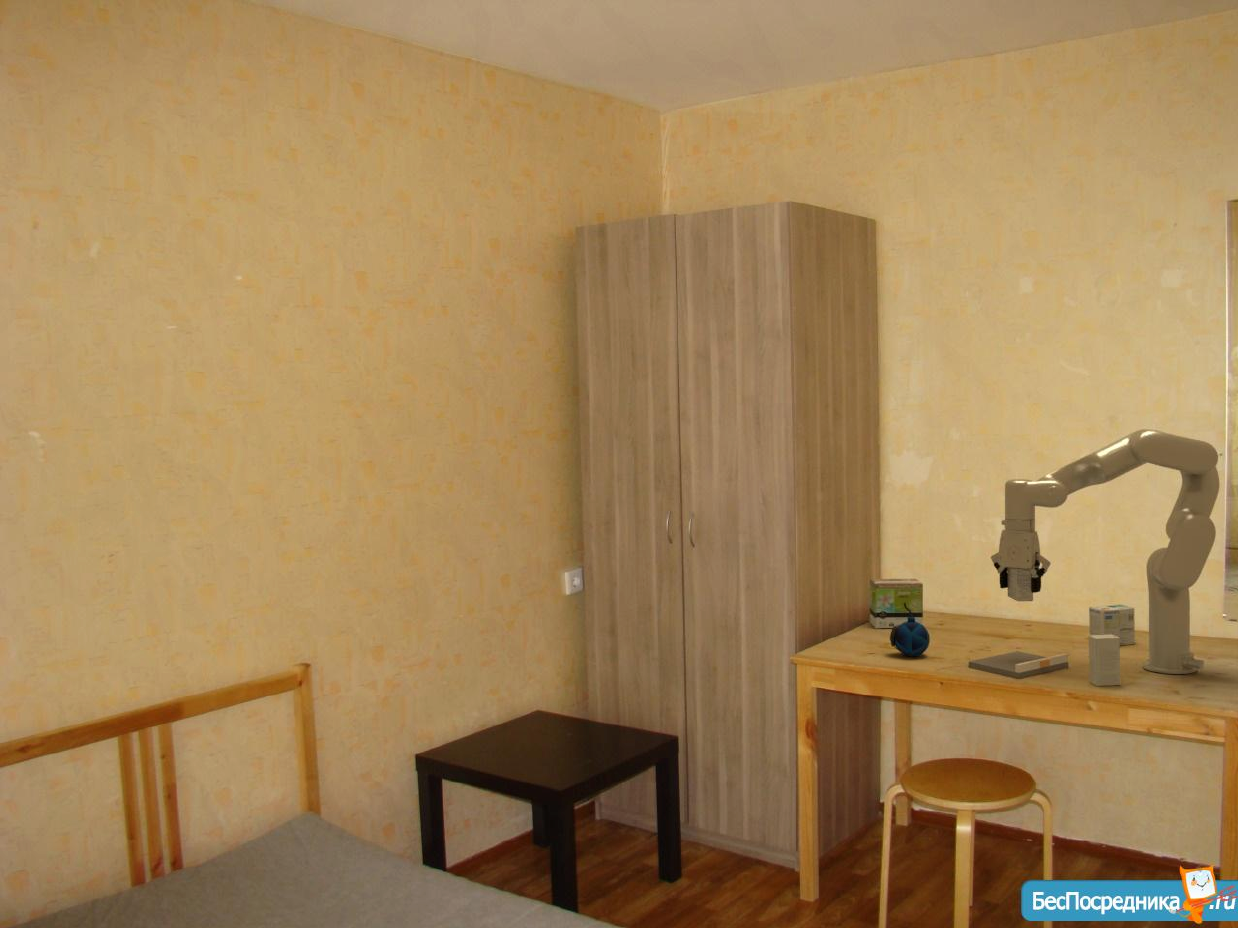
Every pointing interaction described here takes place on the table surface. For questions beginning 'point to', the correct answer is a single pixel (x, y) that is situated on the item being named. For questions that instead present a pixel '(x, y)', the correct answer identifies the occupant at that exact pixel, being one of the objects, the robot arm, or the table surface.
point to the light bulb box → (1113, 622)
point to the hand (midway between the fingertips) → (1020, 589)
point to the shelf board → (1020, 664)
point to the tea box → (895, 601)
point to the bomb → (910, 637)
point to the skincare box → (1104, 660)
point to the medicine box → (1019, 584)
